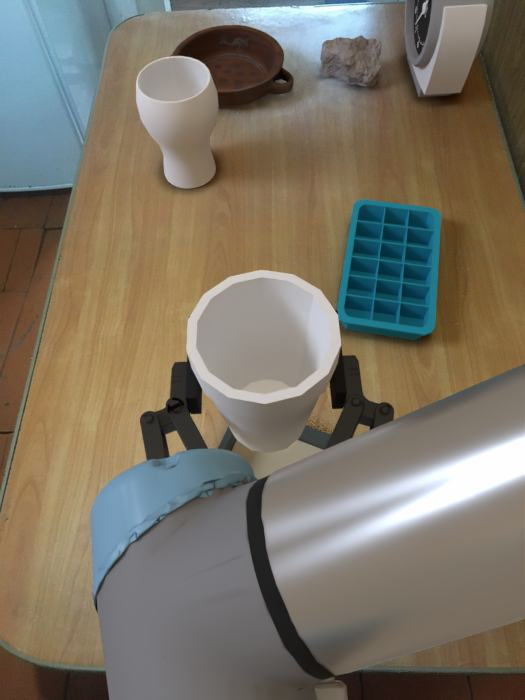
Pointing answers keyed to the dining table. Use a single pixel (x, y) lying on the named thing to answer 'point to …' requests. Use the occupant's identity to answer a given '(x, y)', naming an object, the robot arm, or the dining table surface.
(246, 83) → the dish
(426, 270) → the ice cube tray
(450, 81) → the alarm clock
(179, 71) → the cup
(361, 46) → the stone
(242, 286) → the foam cup
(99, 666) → the dining table surface
